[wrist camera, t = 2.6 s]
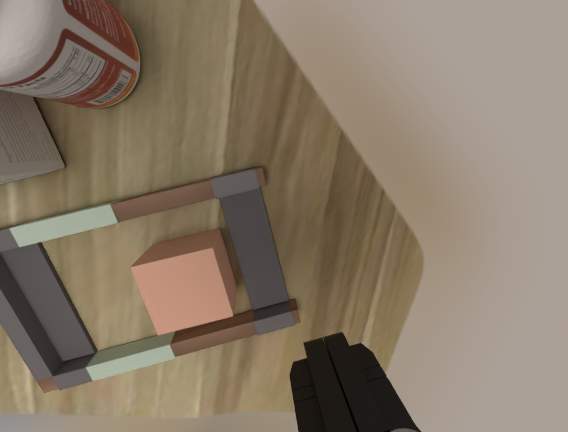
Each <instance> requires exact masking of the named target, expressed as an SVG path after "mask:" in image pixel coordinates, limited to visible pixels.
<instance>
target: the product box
mask: <svg viewBox="0 0 568 432" xmlns="http://www.w3.org/2000/svg"><path fill="white" fill-rule="evenodd" d="M64 167H65V165H64V163H63V161H62V159H61V156H60V154H59V152H58V150H57V147H56V145H55V143H54V141H53V139H52V137H51V135H50V133H49V131H48V128H47V126H46V124H45V122H44V120H43V118H42V116H41V114H40V111H39V109H38V107H37V105H36V103H35V101H34V99H33V96H29V95H25V94H20V93H16V92H11V91H6V90H2V89H0V185H1V184H5V183H9V182H13V181H18V180H22V179H26V178H29V177H33V176H37V175H41V174H45V173H49V172H52V171H56V170H60V169H63V168H64Z"/></svg>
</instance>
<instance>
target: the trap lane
mask: <svg viewBox="0 0 568 432" xmlns="http://www.w3.org/2000/svg"><path fill="white" fill-rule="evenodd" d="M262 186H266V181H265V177H264V172H263V168H262V166H260V167H256V168H255V167H253V168H248V169H244V170H240V171H236V172H232V173H228V174H224V175H220V176H215V177H213V178H210V179H206V180H202V181H198V182H194V183H190V184H185V185H181V186H177V187H173V188H169V189H165V190H161V191H156V192H152V193H148V194H144V195H140V196H136V197H132V198H128V199H123V200H122V199H120V200H116V201H112V202H108V203H104V204H100V205H96V206H91V207H87V208H83V209H79V210H75V211H71V212H67V213H62V214H58V215H54V216H50V217H46V218H42V219H38V220H34V221H29V222H25V223H21V224H17V225H13V226H9V227H5V228H0V324H1V325H2V327H3V328H4V330H5V332H6V333H7V335H8V336H9V338H10V340H11V341H12V343H13V344H14V346H15V348H16V349H17V351H18V352H19V354H20V356H21V357H22V359H23V360H24V362H25V364H26V365H27V367H28V368H29V370H30V372H31V373H32V375H33V376H34V378H35V380H36V381H37V383H38V384H39V386H40V387H41V389H42V391H43V392H44V393H46V392H49V391H53V390H57V389H59V390H62V389H66V388H69V387H73V386H77V385H80V384H84V383H88V382H91V381H95V380H98V379H102V378H106V377H109V376H113V375H117V374H120V373H124V372H127V371H131V370H135V369H138V368H142V367H146V366H149V365H153V364H156V363H160V362H164V361H167V360H171V359H175V358H176V356H180V355H184V354H187V353H191V352H195V351H198V350H202V349H205V348H209V347H213V346H216V345H220V344H224V343H227V342H231V341H234V340H238V339H242V338H245V337H249V336H253V335H256V334H257V335H262V334H265V333H269V332H272V331H276V330H280V329H283V328H287V327H290V326H294V325H295V324H296V323H300V318H299V314H298V309H297V306H296V302H295V299H292V300H288V296H287V292H286V288H285V284H284V280H283V276H282V272H281V268H280V264H279V260H278V257H277V253H276V249H275V245H274V241H273V237H272V233H271V229H270V225H269V221H268V218H267V214H266V210H265V206H264V202H263V198H262V194H261V190H260V187H262ZM213 198H216V199H217V198H219V200H220V203H221V206H222V210H223V213H224V216H225V219H226V223H227V226H228V229H229V233H230V236H231V239H232V243H233V246H234V249H235V252H236V256H237V259H238V262H239V266H240V269H241V272H242V275H243V279H244V282H245V285H246V289H247V292H248V295H249V299H250V302H251V305H252V308H253V310H251V311H248V312H244V313H240V314H237V315H234V316H233V317H229V318H225V319H221V320H217V321H213V322H209V323H205V324H201V325H197V326H193V327H189V328H185V329H181V330H178V331H173V332H169V333H165V334H161V335H157V336H153V337H150V338H146V339H142V340H139V341H135V342H131V343H127V344H124V345H120V346H116V347H113V348H109V349H105V350H102V351H98V352H96V351H97V349H96V348H95V346H94V344H93V342H92V340H91V338H90V336H89V334H88V332H87V330H86V328H85V326H84V325H83V323H82V321H81V319H80V317H79V315H78V313H77V311H76V309H75V307H74V305H73V304H72V302H71V300H70V298H69V296H68V294H67V292H66V290H65V288H64V286H63V284H62V282H61V281H60V279H59V277H58V275H57V273H56V271H55V269H54V267H53V265H52V263H51V261H50V260H49V258H48V256H47V254H46V252H45V250H44V248H43V246H42V244H41V242H43V241H47V240H51V239H55V238H59V237H63V236H67V235H71V234H75V233H79V232H83V231H87V230H91V229H95V228H99V227H103V226H108V225H112V224H116V223H119V222H120V221H124V220H128V219H132V218H136V217H140V216H144V215H148V214H152V213H156V212H160V211H164V210H168V209H172V208H176V207H181V206H185V205H189V204H193V203H197V202H201V201H205V200H209V199H213Z"/></svg>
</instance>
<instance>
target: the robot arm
mask: <svg viewBox="0 0 568 432" xmlns="http://www.w3.org/2000/svg"><path fill="white" fill-rule="evenodd" d="M323 339H324V341H323ZM323 339H322V338H319V339H315V340H311V341H308V342H304V347H305V351H306V355H307V358H306V359H302V360H299V361H295V362H293V365H292V368H291V372H290V382H291V388H292V394H293V400H294V406H295V413H296V419H297V424H298V431H299V432H421V431H420V430H419V429H418V427H416V425H415V423H414V422H413V420H412V419H411V417H410V415H409V413H408V412H407V410H406V408H405V407H404V405H403V403H402V401H401V400H400V398H399V396H398V395H397V393H396V391H395V390H394V388H393V386H392V384H391V383H390V381H389V380H388V378H387V377H386V374H385V373H384V371H383V369H382V367H380V364H379V362H378V361H377V359H376V357H375V356H374V354H373V352H372V351H370V350H369V349H368V348H367V347H365V346H364V345H363V344H361V343H359V344H355V345H352V346H349V344H348V342H347V340H346V338H345V336H344V334H343V333H342V332H340V333H336V334H333V335H329V336H326V337H323Z"/></svg>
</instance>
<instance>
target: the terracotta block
mask: <svg viewBox="0 0 568 432" xmlns="http://www.w3.org/2000/svg"><path fill="white" fill-rule="evenodd" d="M130 269H131V271H132V273H133V276H134V278H135V281H136V283H137V286H138V288H139V290H140V293H141V295H142V298H143V300H144V303H145V305H146V307H147V310H148V312H149V315H150V317H151V320H152V322H153V324H154V327H155V329H156V332H157V334H158V335H161V334H165V333H169V332H173V331H177V330H181V329H185V328H189V327H193V326H197V325H201V324H205V323H209V322H213V321H217V320H221V319H225V318H229V317H233V316H234V307H235V298H236V289H237V285H236V282H235V279H234V275H233V272H232V268H231V265H230V261H229V258H228V255H227V251H226V248H225V244H224V241H223V237H222V234H221V231H220V229H215V230H211V231H207V232H203V233H198V234H194V235H190V236H185V237H181V238H177V239H173V240H168V241H164V242H160V243H156V244H153V245H152V246H151V247H150V248H149V249H148V250H147V251H146V252H145V253H144V254H143V255H142V256H141V257H140V258H139V259H138V260H137V261H136V262H135V263H134V264H133V265H132V266H131V267H130Z"/></svg>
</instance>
